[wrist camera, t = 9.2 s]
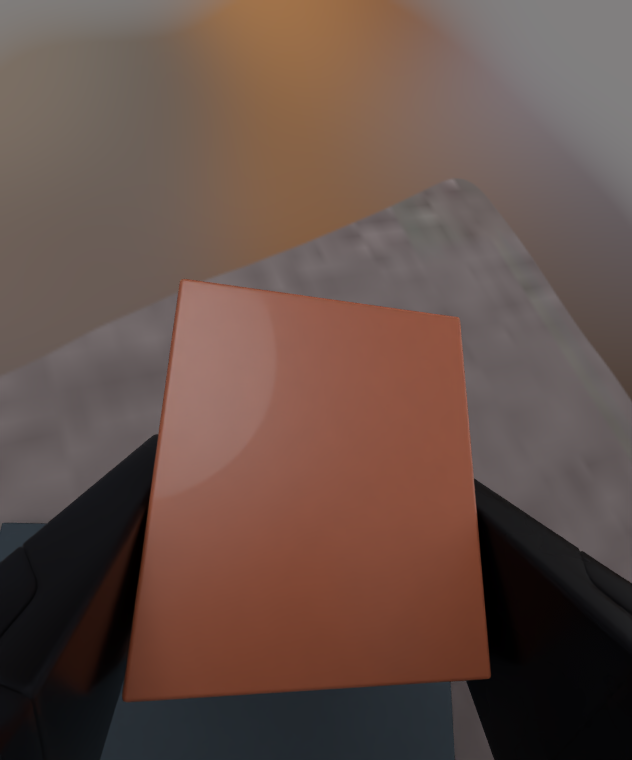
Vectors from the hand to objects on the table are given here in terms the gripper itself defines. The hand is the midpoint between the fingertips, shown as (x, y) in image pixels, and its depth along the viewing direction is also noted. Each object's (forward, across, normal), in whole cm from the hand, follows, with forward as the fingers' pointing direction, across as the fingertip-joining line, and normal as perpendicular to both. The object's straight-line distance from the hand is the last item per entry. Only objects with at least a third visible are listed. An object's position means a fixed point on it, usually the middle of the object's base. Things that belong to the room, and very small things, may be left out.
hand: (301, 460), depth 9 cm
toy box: (+4, 0, +5) cm, 7 cm away
